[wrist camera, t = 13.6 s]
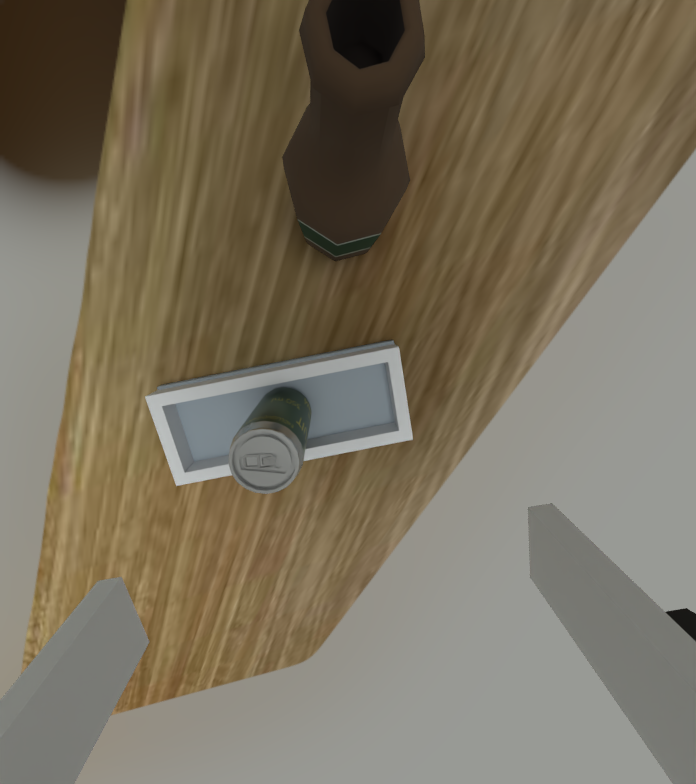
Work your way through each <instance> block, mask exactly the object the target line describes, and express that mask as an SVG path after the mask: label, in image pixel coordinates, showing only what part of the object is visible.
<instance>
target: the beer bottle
mask: <svg viewBox="0 0 696 784" xmlns="http://www.w3.org/2000/svg"><path fill="white" fill-rule="evenodd" d="M299 32H300V36H301V40H302V44H303V49H304V53H305V57H306V62H307V66H308V70H309V75H310V79H311V90H310V104H309V105H308V106H307V108H306V110H305V112H304V114H303V116H302V118H301V120H300V122H299V124H298V126H297V128H296V130H295V132H294V134H293V136H292V138H291V140H290V142H289V144H288V146H287V148H286V151H285V153H284V155H283V157H282V158H283V165H284V170H285V174H286V178H287V181H288V185H289V189H290V193H291V197H292V200H293V204H294V208H295V212H296V216H297V219H298V222H299V224H300V227H301V229H302V232H303V234H304V237H305V239H306V242H307V243H308V244H309V245H311V246H312V247H314V248H315V249H317V250H318V251H320V252H321V253H323V254H325V255H326V256H328V257H329V258H331V259H332V260H334V261H338V260H342V259H346V258H350V257H353V256H357V255H361V254H365V253H366V252H368V250H369V249H370V248H371V246H372V245H373V244H374V242H375V241H376V239H377V238H378V237H379V235H380V234H381V233H382V231H383V229H384V227H385V226H386V224H387V222H388V220H389V219H390V217H391V215H392V213H393V212H394V210H395V208H396V206H397V205H398V203H399V201H400V200H401V198H402V196H403V194H404V193H405V191H406V189H407V186H408V184H409V181H410V178H409V173H408V167H407V162H406V156H405V151H404V145H403V140H402V134H401V129H400V124H399V122H398V116H399V112H400V108H401V104H402V100H403V96H404V95H405V93H406V91H407V89H408V87H409V85H410V84H411V82H412V80H413V78H414V76H415V74H416V73H417V71H418V69H419V67H420V65H421V63H422V62H423V60H424V58H425V45H424V30H423V23H422V17H421V11H420V4H419V0H309V2H308V4H307V6H306V8H305V12H304V15H303V19H302V22H301V26H300V29H299Z"/></svg>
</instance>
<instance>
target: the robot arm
mask: <svg viewBox="0 0 696 784" xmlns="http://www.w3.org/2000/svg"><path fill="white" fill-rule="evenodd" d="M528 524H529V554H530V555H529V556H530V578H531V579H532V581H533V582H534V583H535V585H536V586H537V588H538V589H539V591H540V592H541V594H542V595H543V597H544V598H545V599H546V601H547V602H548V604H549V605H550V607H551V608H552V609H553V611H554V612H555V614H556V615H557V617H558V618H559V619H560V621H561V623H562V624H563V625H564V627H565V628H566V630H567V631H568V633H569V634H570V636H571V637H572V638H573V640H574V641H575V643H576V644H577V646H578V647H579V649H580V650H581V652H582V653H583V654H584V656H585V657H586V659H587V660H588V662H589V663H590V665H591V666H592V667H593V669H594V670H595V672H596V673H597V675H598V676H599V677H600V679H601V680H602V682H603V683H604V685H605V686H606V688H607V689H608V691H609V692H610V693H611V695H612V696H613V698H614V699H615V701H616V702H617V704H618V705H619V706H620V708H621V709H622V711H623V712H624V714H625V715H626V717H627V718H628V719H629V721H630V722H631V724H632V725H633V727H634V728H635V730H636V731H637V732H638V734H639V735H640V737H641V738H642V740H643V741H644V743H645V744H646V745H647V747H648V748H649V750H650V751H651V753H652V754H653V756H654V757H655V758H656V760H657V761H658V763H659V764H660V766H661V767H662V769H663V770H664V772H665V773H666V774H667V776H668V777H669V779H670V780H671V782H672V783H673V784H696V614H695V613H693V612H692V611H690V610H688V609H687V608H686V609H680V610H674V611H668V612H664V611H663V610H662V609H661V608H660V607H659V606H658V605H657V604H656V603H655V602H654V601H653V600H652V599H651V598H650V597H649V596H648V595H647V594H646V593H645V592H644V591H643V590H642V589H641V588H639V587H638V586H637V585H636V584H635V583H634V582H633V581H632V580H631V579H630V578H629V577H628V576H627V575H626V574H625V573H624V572H623V571H622V570H621V569H620V568H619V567H618V566H617V565H616V564H615V563H613V562H612V561H611V560H610V559H609V558H608V557H607V556H606V555H605V554H604V553H603V552H602V551H601V550H600V549H599V548H598V547H597V546H596V545H595V544H594V543H593V542H592V541H591V540H589V538H587V537H586V536H585V535H584V534H583V533H582V532H581V531H580V530H579V529H578V528H577V527H576V526H575V525H574V524H573V523H572V522H571V521H570V520H569V519H568V518H567V517H566V516H565V515H564V514H562V513H561V512H560V511H559V510H558V509H557V508H556V507H555V506H554V505H553V504H552V503H550V504H545V505H539V506H533V507H528ZM148 643H149V640H148V637H147V635H146V633H145V630H144V628H143V626H142V623H141V621H140V619H139V616H138V614H137V612H136V610H135V607H134V605H133V603H132V600H131V598H130V596H129V593H128V591H127V589H126V586H125V584H124V582H123V579H122V577H118V578H112V579H107V580H101V581H98V582H97V583H96V584H95V585H94V586H93V588H92V589H91V590H90V591H89V593H88V594H87V595H86V596H85V597H84V599H83V600H82V601H81V602H80V604H79V605H78V606H77V607H76V608H75V610H74V611H73V612H72V613H71V614H70V616H69V617H68V618H67V619H66V621H65V622H64V623H63V624H62V625H61V627H60V628H59V629H58V630H57V632H56V633H55V634H54V635H53V636H52V638H51V639H50V640H49V641H48V643H47V644H46V645H45V646H44V647H43V649H42V650H41V651H40V652H39V653H38V655H37V656H36V657H35V658H34V660H33V661H32V662H31V663H30V664H29V666H28V667H27V668H26V669H25V671H24V672H23V673H22V674H21V675H20V677H19V678H18V679H17V680H16V682H15V683H14V684H13V685H12V686H11V688H10V689H9V690H8V691H7V693H6V694H5V695H4V696H3V698H2V699H1V700H0V784H74V783H75V781H76V779H77V777H78V775H79V774H80V772H81V770H82V768H83V766H84V764H85V762H86V760H87V758H88V757H89V755H90V753H91V751H92V749H93V747H94V745H95V744H96V742H97V740H98V738H99V736H100V734H101V732H102V730H103V728H104V726H105V725H106V723H107V721H108V719H109V717H110V715H111V713H112V711H113V710H114V708H115V706H116V704H117V702H118V700H119V698H120V696H121V694H122V693H123V691H124V689H125V687H126V685H127V683H128V681H129V679H130V677H131V676H132V674H133V672H134V670H135V668H136V666H137V664H138V662H139V660H140V659H141V657H142V655H143V653H144V651H145V649H146V647H147V645H148Z"/></svg>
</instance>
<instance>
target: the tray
mask: <svg viewBox="0 0 696 784" xmlns="http://www.w3.org/2000/svg"><path fill="white" fill-rule="evenodd" d="M281 387H287V388H293V389H295V390H297V391H299V392H301V393H302V394H303V395H304V396H305V397H306V398H307V400H308V402H309V403H310V407H311V411H312V413H311V421H310V427H309V432H308V438H307V443H306V449H305V454H304V460H303V461H306V460H311V459H316V458H321V457H326V456H331V455H337V454H342V453H347V452H352V451H357V450H362V449H367V448H372V447H377V446H382V445H388V444H393V443H398V442H403V441H408V440H413V436H412V430H411V423H410V417H409V410H408V404H407V397H406V390H405V384H404V377H403V371H402V364H401V357H400V351H399V347H398V346H397V345H395V344H394V341H393V340H388V341H383V342H378V343H373V344H368V345H362V346H357V347H352V348H347V349H342V350H337V351H332V352H327V353H322V354H317V355H311V356H306V357H301V358H296V359H291V360H286V361H281V362H276V363H271V364H265V365H260V366H255V367H250V368H245V369H240V370H235V371H230V372H225V373H220V374H214V375H209V376H204V377H199V378H194V379H189V380H184V381H179V382H174V383H168V384H163V385H160V386H158V387H157V389H158V390H157V391H155V392H153V393H151V394H149V395H147V396H145V398H146V401H147V404H148V407H149V409H150V412H151V415H152V418H153V421H154V424H155V426H156V429H157V432H158V435H159V438H160V441H161V443H162V446H163V449H164V452H165V455H166V458H167V460H168V463H169V466H170V469H171V472H172V475H173V478H174V480H175V483H176V486H178V485H184V484H189V483H194V482H199V481H204V480H209V479H214V478H219V477H224V476H229V475H232V474H231V471H230V468H229V464H228V460H229V450H230V445H231V443H232V440H233V438H234V436H235V435H236V433H237V432H238V431H239V429H240V428H241V426H242V425H243V424H244V422H245V421H246V420H247V418H248V417H249V416H250V414H251V413H252V411H253V410H254V409H255V407H256V406H257V405H258V403H259V402H260V400H261V399H262V398H263V397H264V396H265V395H266V394H267V393H268V392H269V391H271V390H273V389H275V388H281Z"/></svg>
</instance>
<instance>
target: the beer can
mask: <svg viewBox="0 0 696 784" xmlns="http://www.w3.org/2000/svg"><path fill="white" fill-rule="evenodd" d="M311 413H312V411H311V407H310V403H309V402H308V400H307V398H306V397H305V396H304V395H303V394H302V393H301V392H299V391H297V390H295V389H293V388H287V387H281V388H275V389H273V390H271V391H269V392H268V393H267V394H266V395H265V396H264V397H263V398H262V399H261V400H260V402H259V403H258V405H257V406H256V407H255V409H254V410H253V411H252V413H251V414H250V416H249V417H248V418H247V420H246V421H245V422H244V424H243V425H242V426H241V428H240V429H239V431H238V432H237V433H236V435H235V436H234V438H233V440H232V443H231V445H230V450H229V460H228V464H229V468H230V471H231V474H232V475H233V477H234V478H235V480H236V481H237V482H238V483H239V484H240V485H242V486H243V487H244V488H245V489H248V490H250V491H253V492H255V493H264V494H268V493H273V492H278V491H280V490H282V489H284V488H286V487H287V486H288V485H289V484H290V483H291V482H292V481H293V480H294V478H295V477H296V476H297V475H298V473H299V471H300V469H301V467H302V465H303V460H304V454H305V449H306V443H307V438H308V432H309V427H310V421H311Z"/></svg>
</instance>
